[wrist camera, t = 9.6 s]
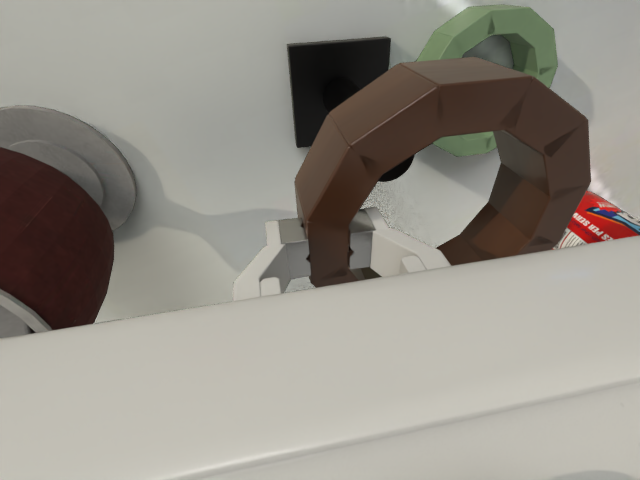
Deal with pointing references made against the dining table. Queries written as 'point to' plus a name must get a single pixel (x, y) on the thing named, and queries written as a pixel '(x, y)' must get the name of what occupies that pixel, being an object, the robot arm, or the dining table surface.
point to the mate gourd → (57, 219)
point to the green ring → (526, 45)
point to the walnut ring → (425, 128)
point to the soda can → (597, 223)
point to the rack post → (334, 82)
